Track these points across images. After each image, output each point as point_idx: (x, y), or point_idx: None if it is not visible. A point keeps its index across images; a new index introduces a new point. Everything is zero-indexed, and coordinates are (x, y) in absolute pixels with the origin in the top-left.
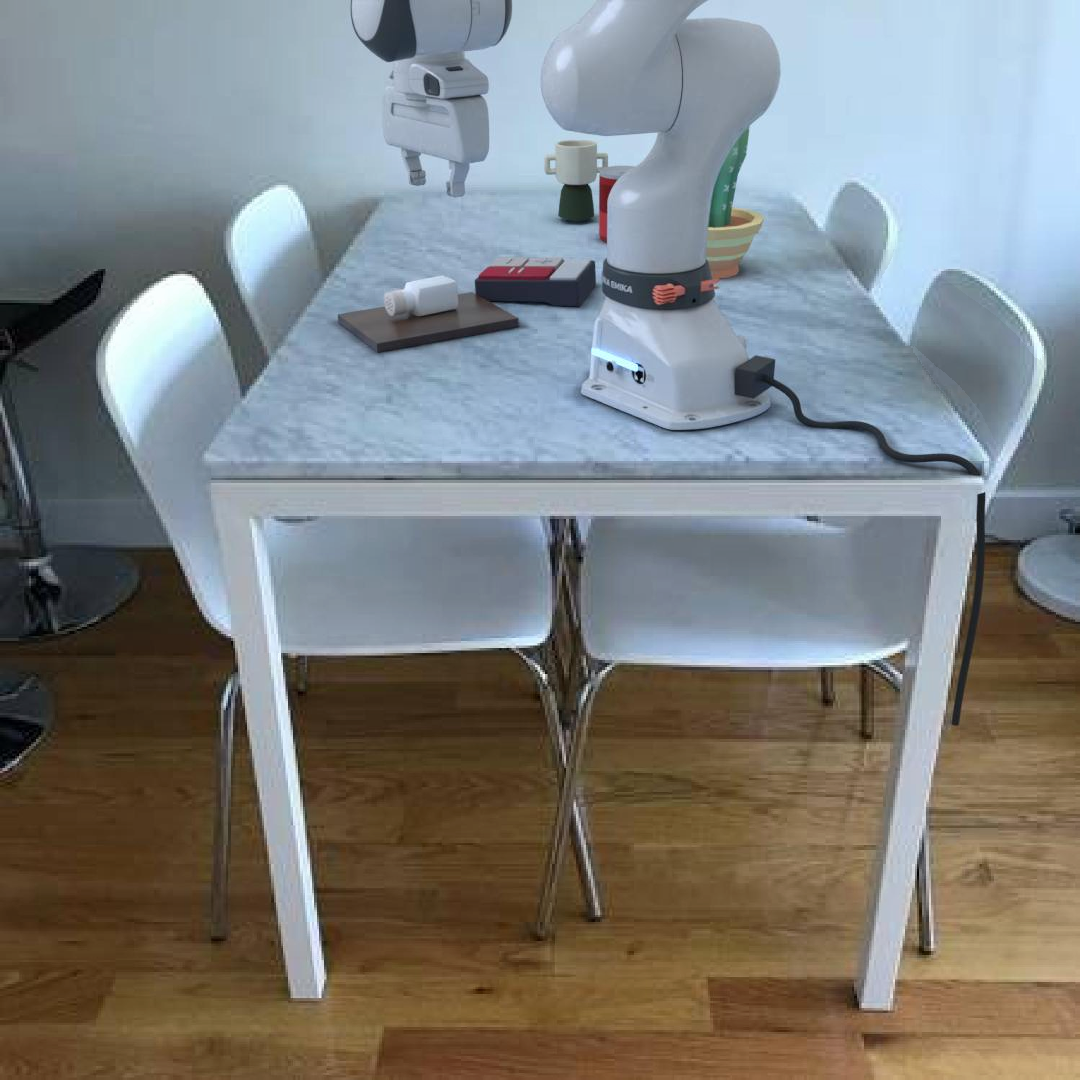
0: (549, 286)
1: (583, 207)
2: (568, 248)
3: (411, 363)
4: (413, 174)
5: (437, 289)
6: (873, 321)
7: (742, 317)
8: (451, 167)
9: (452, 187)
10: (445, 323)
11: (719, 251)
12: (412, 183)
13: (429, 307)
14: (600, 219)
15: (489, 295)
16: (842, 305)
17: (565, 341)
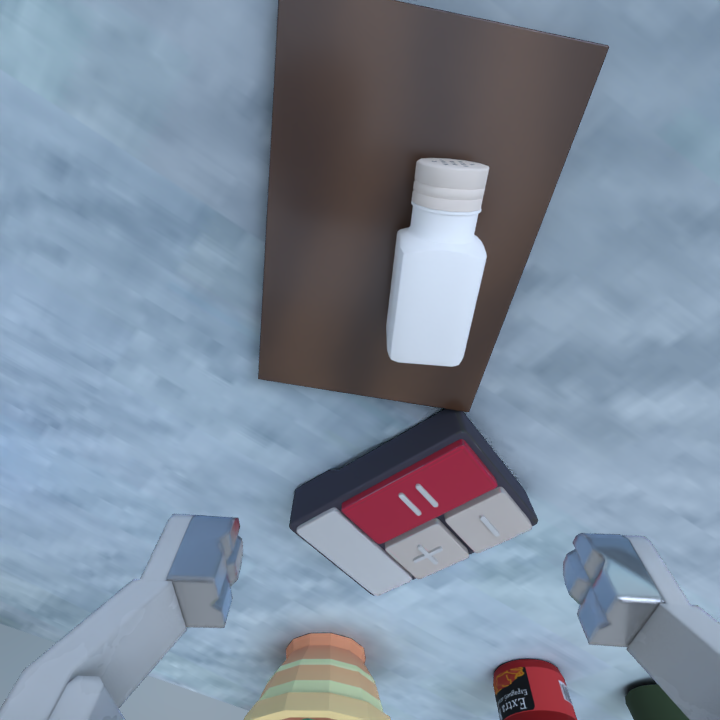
0: (330, 494)
1: (640, 714)
2: (558, 625)
3: (153, 17)
4: (613, 588)
5: (393, 302)
6: (50, 637)
7: (128, 581)
8: (64, 691)
9: (151, 555)
10: (318, 247)
11: (269, 684)
12: (608, 538)
13: (394, 259)
14: (555, 696)
15: (431, 424)
16: None
17: (140, 378)
